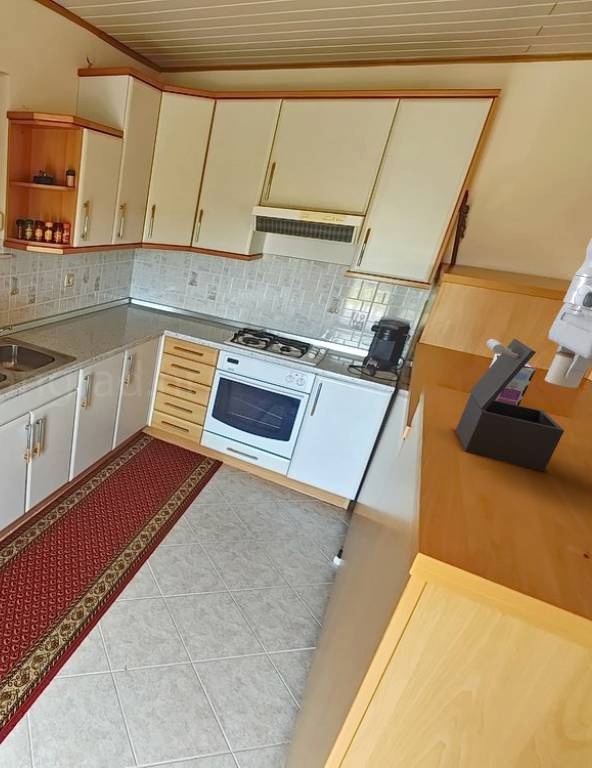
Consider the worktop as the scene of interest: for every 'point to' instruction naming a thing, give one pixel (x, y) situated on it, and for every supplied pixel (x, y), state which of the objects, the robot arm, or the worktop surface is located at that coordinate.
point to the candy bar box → (516, 384)
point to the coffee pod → (561, 370)
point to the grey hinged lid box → (509, 433)
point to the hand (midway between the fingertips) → (565, 375)
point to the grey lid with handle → (501, 371)
